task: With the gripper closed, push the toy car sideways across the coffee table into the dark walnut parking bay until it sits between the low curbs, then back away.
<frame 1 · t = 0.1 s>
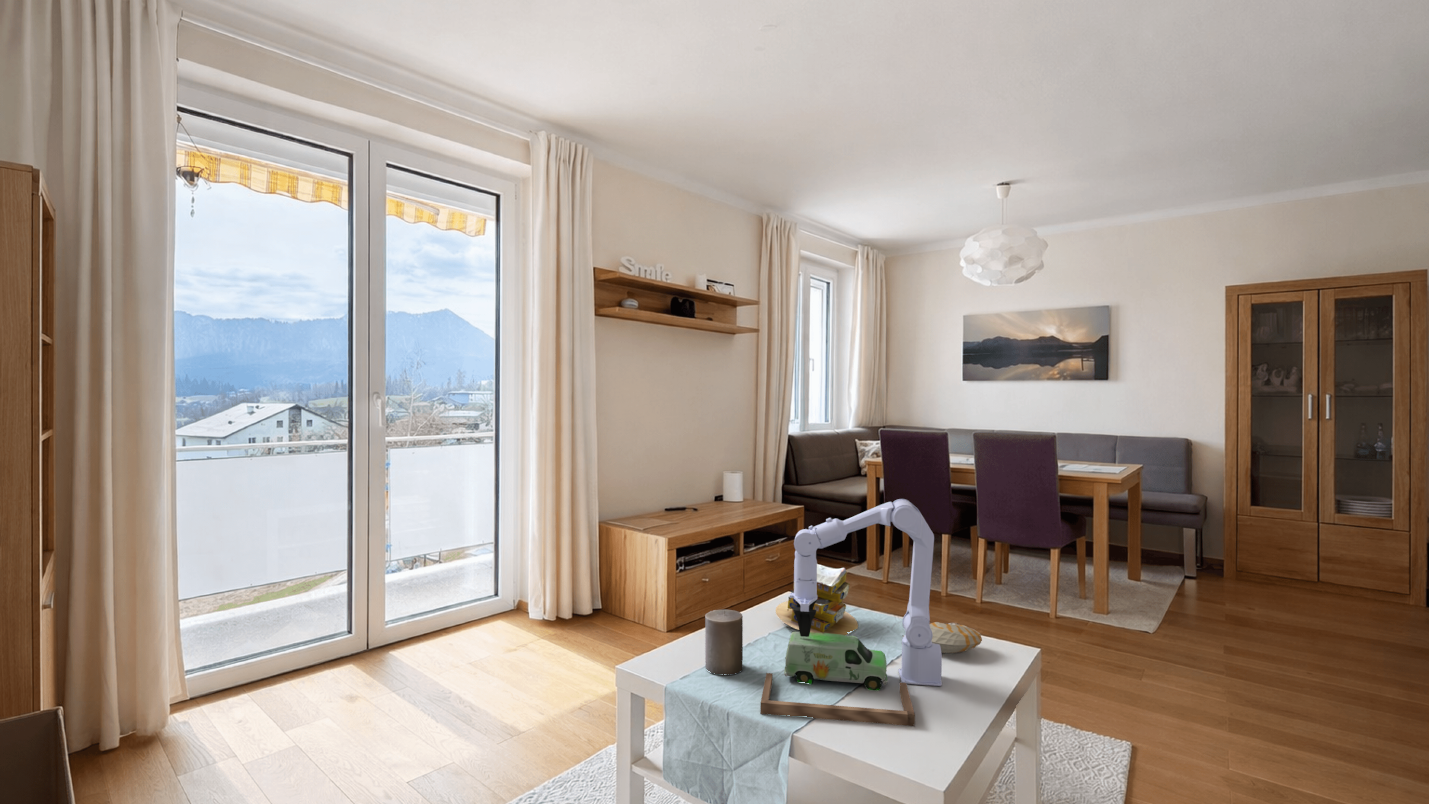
hand: (805, 630, 178), 10 cm above the table, tool pointing down, fingers open, 7 cm apart
stacked boxes on plate: (816, 623, 213), on the table
pillar candle: (723, 668, 179), on the table
parking bay: (835, 703, 160), on the table
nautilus: (939, 649, 193), on the table
toy car: (835, 679, 173), on the table
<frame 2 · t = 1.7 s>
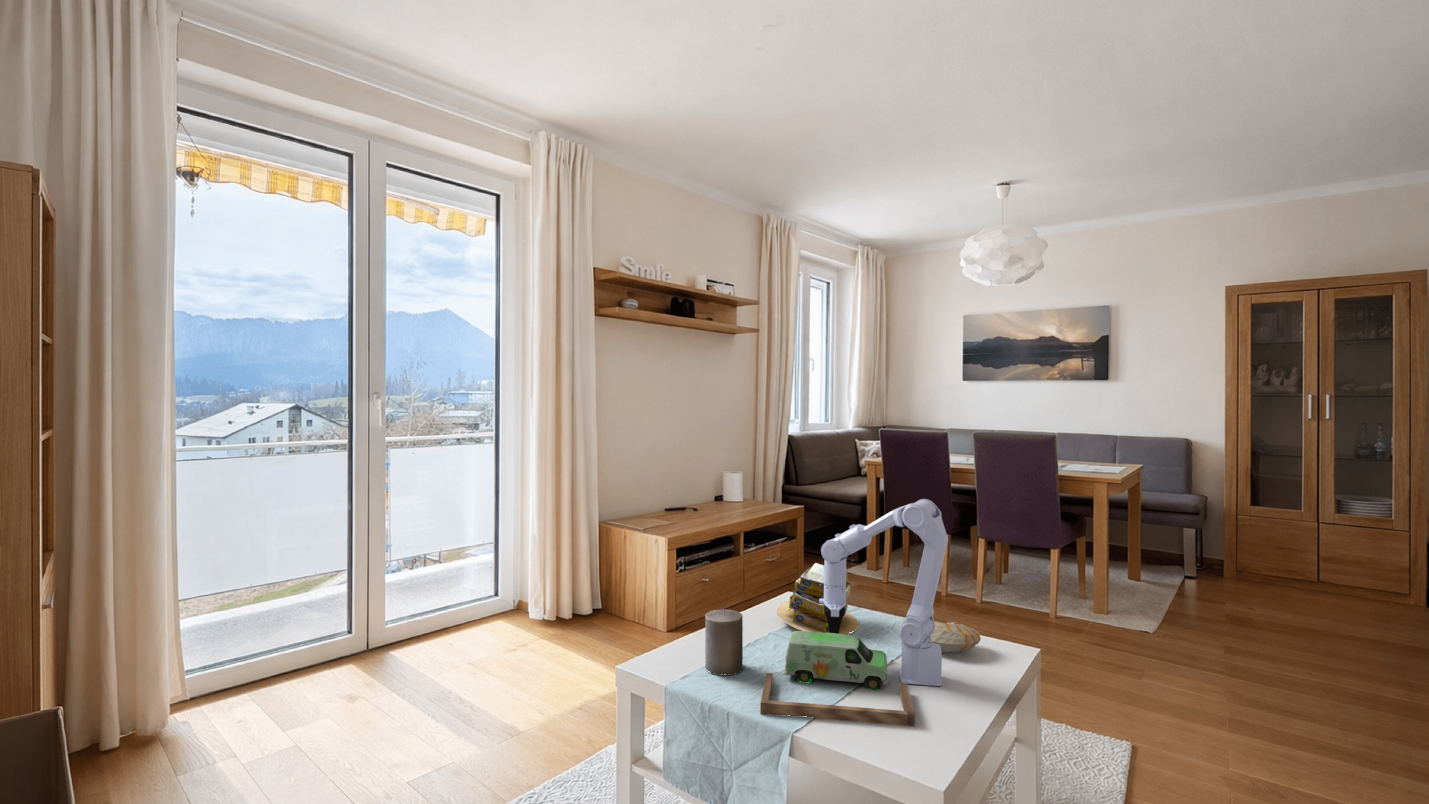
hand: (834, 634, 185), 6 cm above the table, tool pointing down, fingers closed
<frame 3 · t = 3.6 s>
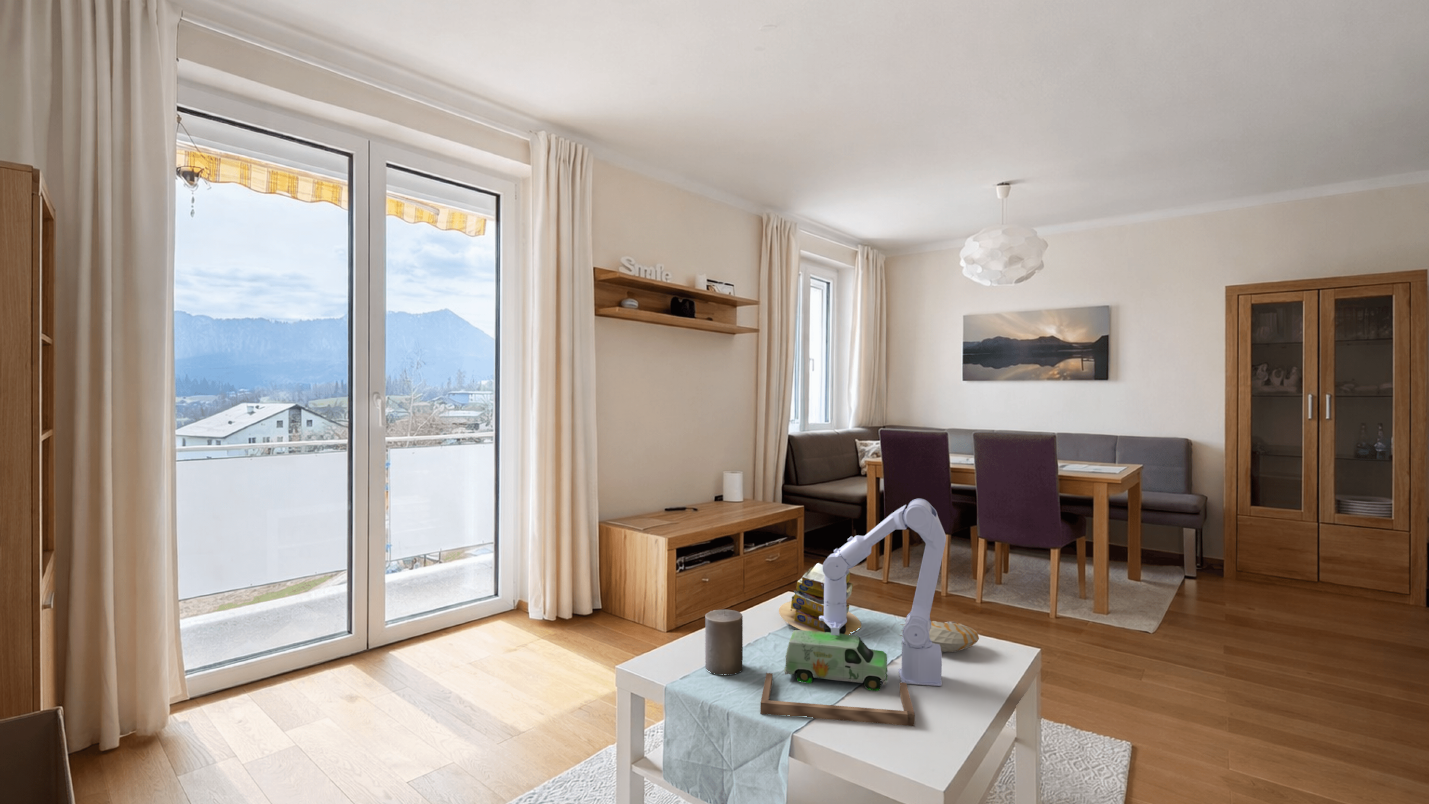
hand: (834, 653, 180), 3 cm above the table, tool pointing down, fingers closed
toy car: (836, 678, 174), on the table, touching gripper
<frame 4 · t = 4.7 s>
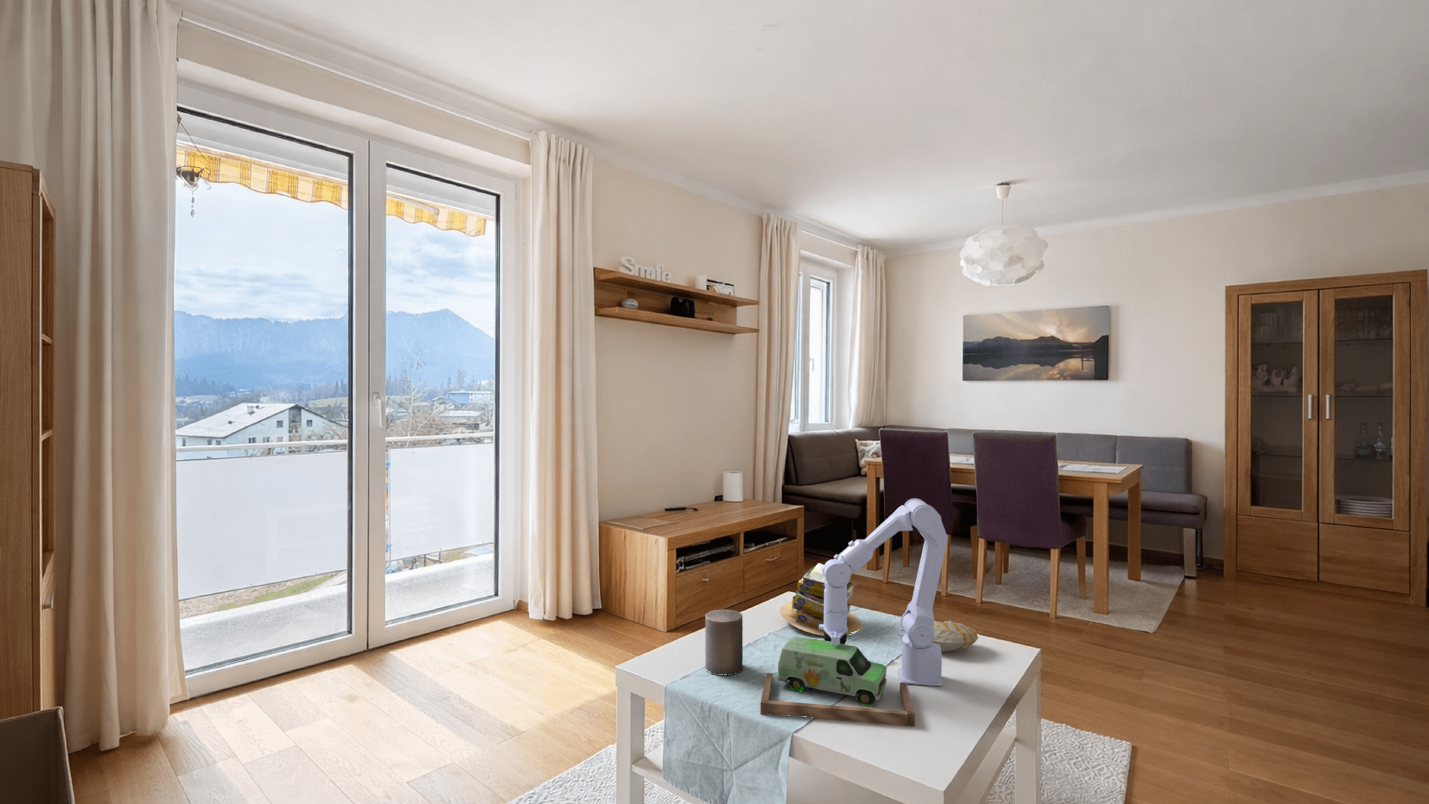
hand: (834, 663, 174), 3 cm above the table, tool pointing down, fingers closed
toy car: (831, 689, 167), on the table, touching gripper
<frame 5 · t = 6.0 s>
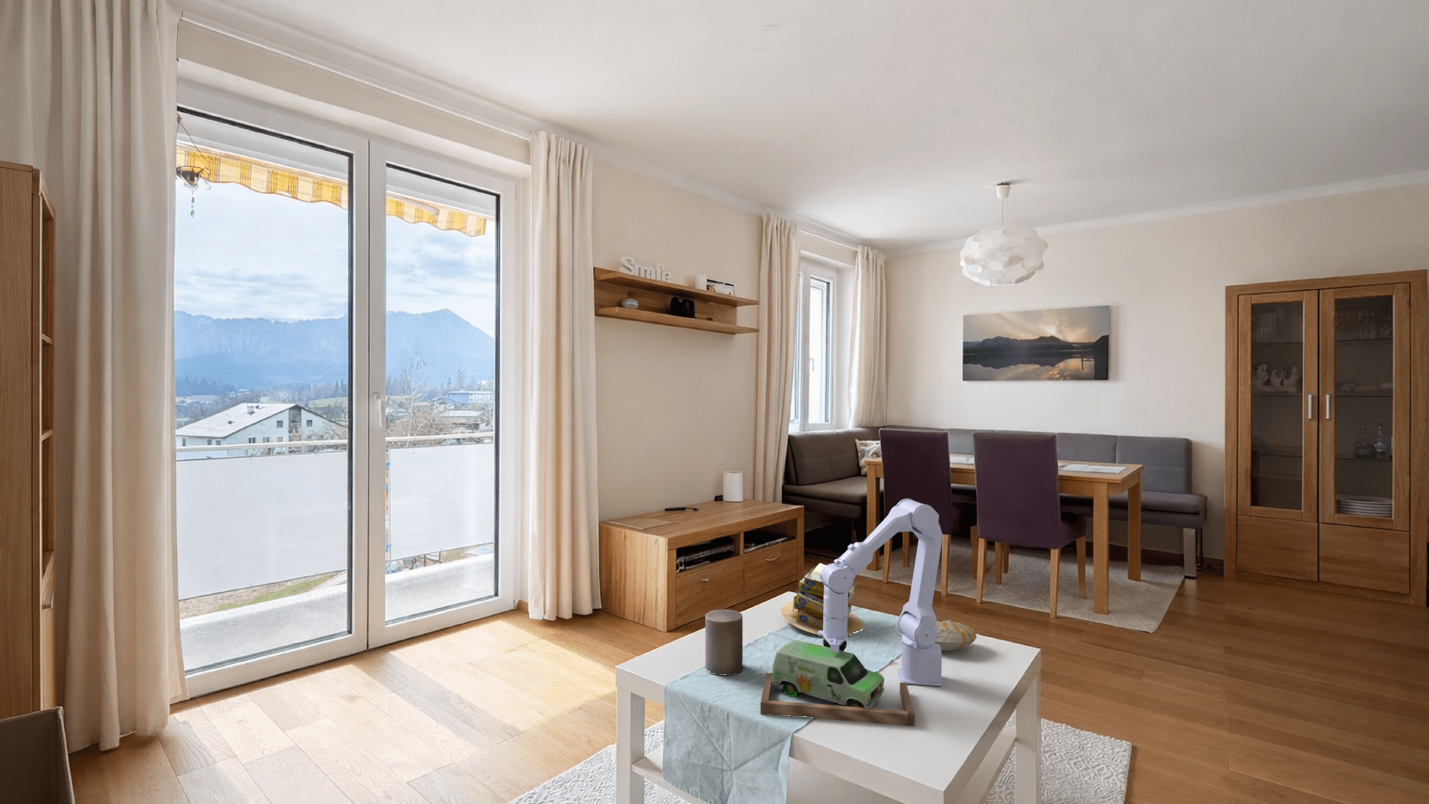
hand: (834, 670, 169), 4 cm above the table, tool pointing down, fingers closed, pressing on toy car
toy car: (827, 696, 163), on the table, touching gripper, parking bay
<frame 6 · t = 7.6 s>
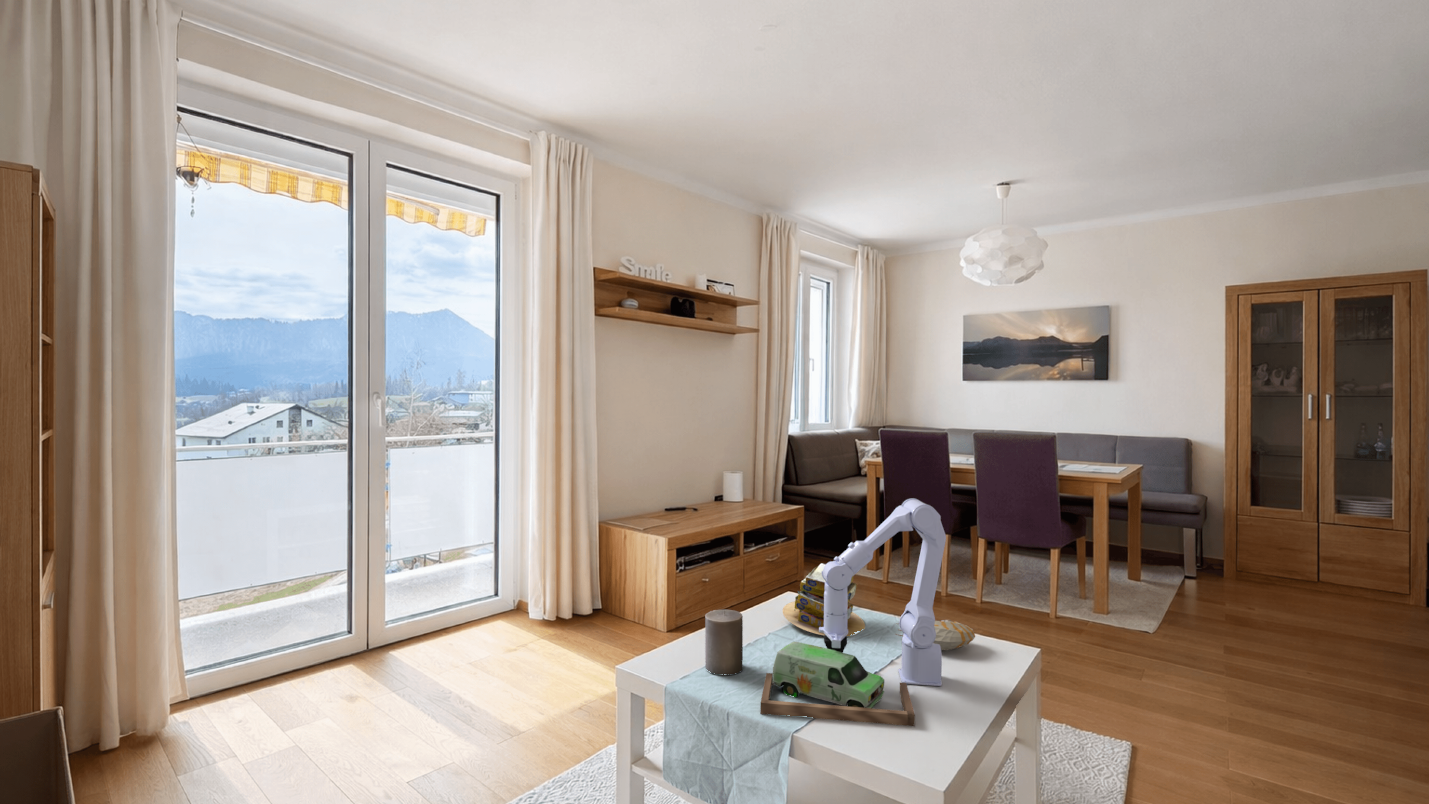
hand: (835, 666, 172), 3 cm above the table, tool pointing down, fingers closed
toy car: (827, 697, 163), on the table
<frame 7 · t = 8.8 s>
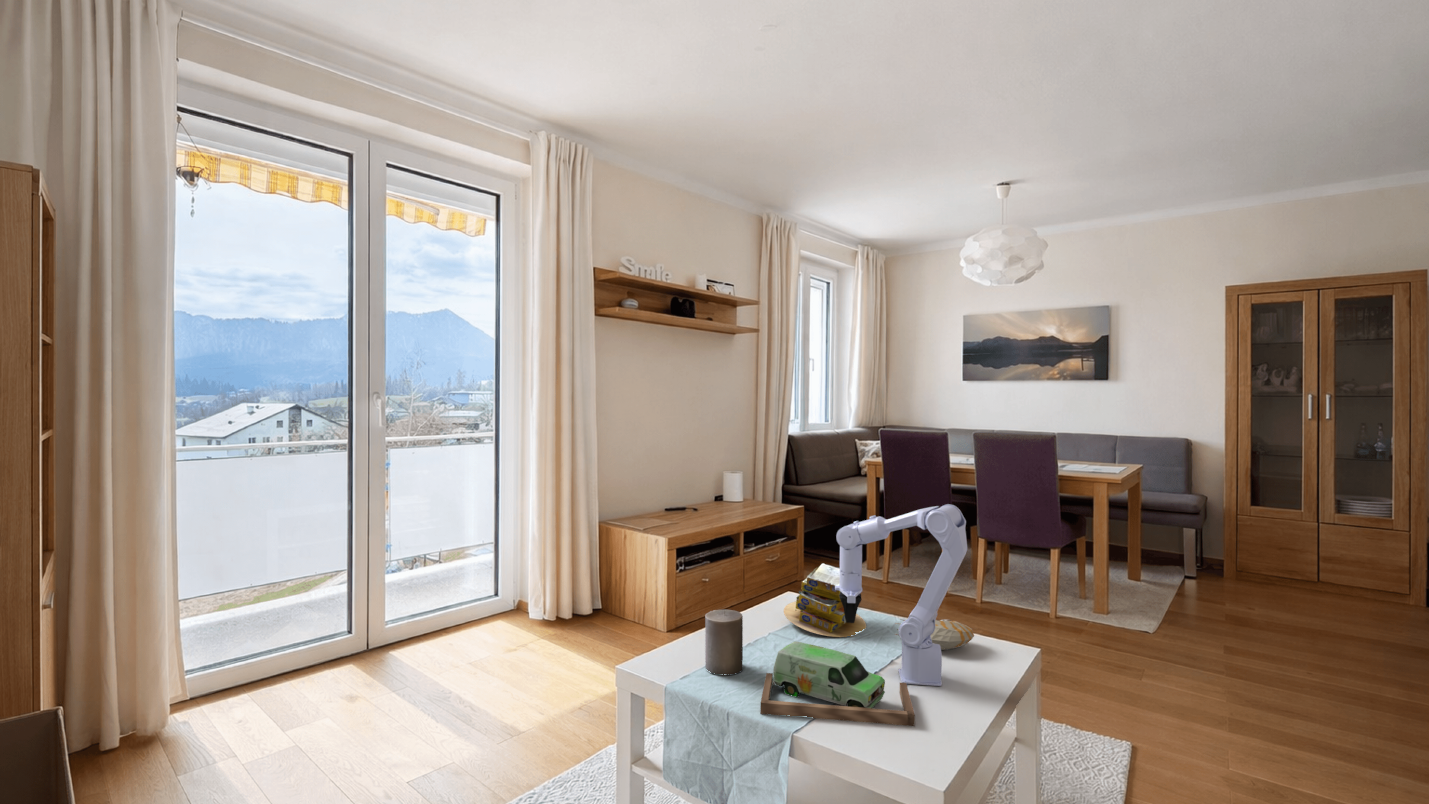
hand: (850, 622, 183), 10 cm above the table, tool pointing down, fingers closed
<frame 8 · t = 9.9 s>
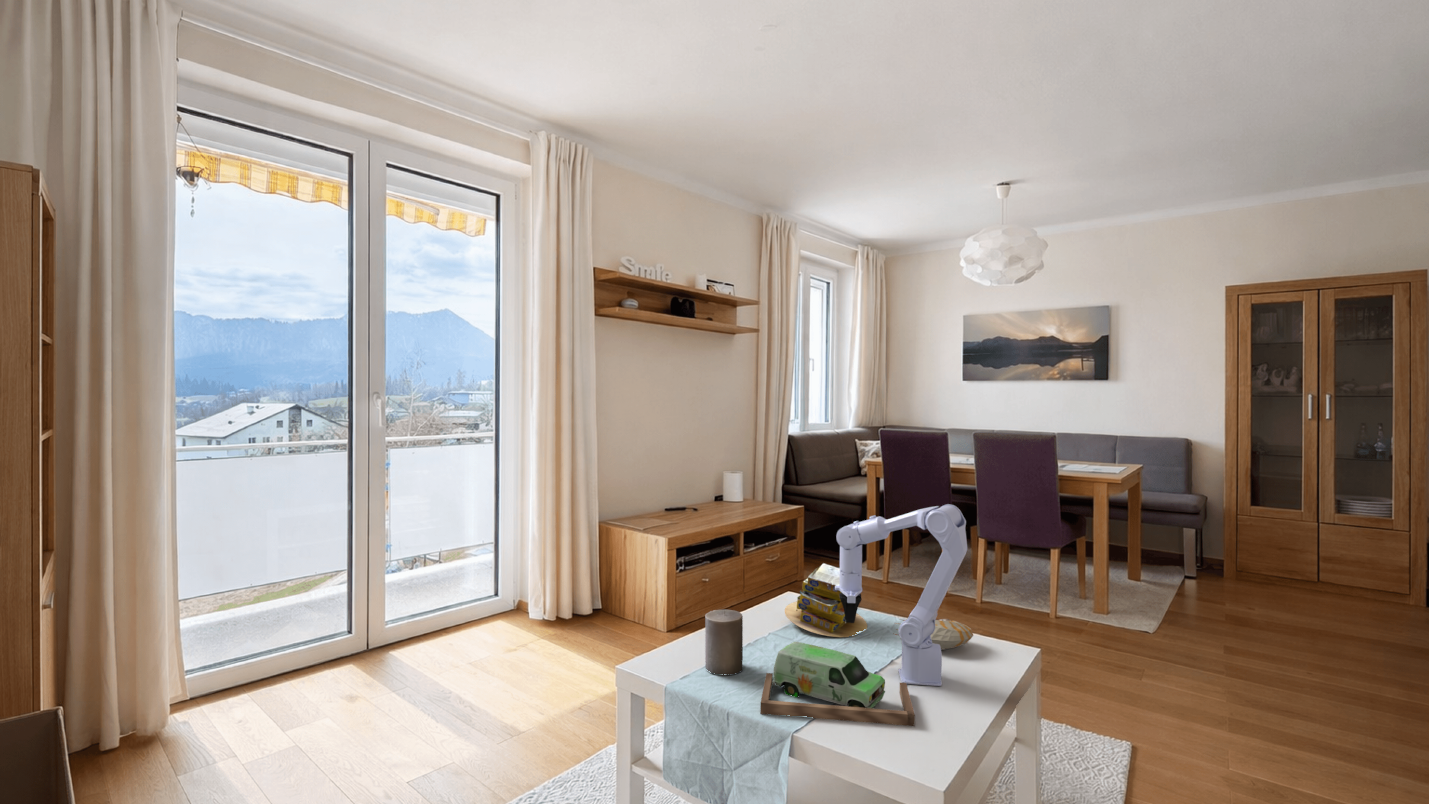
hand: (850, 622, 183), 10 cm above the table, tool pointing down, fingers closed
at the end: toy car inside the target area (3.1 cm from its centre), on the table; toy car tilted 0°; toy car moved 10.9 cm from its start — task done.
